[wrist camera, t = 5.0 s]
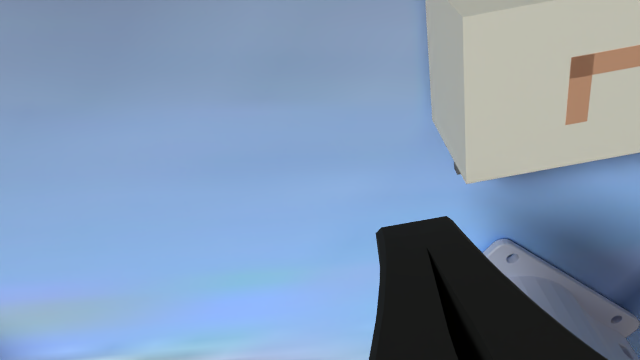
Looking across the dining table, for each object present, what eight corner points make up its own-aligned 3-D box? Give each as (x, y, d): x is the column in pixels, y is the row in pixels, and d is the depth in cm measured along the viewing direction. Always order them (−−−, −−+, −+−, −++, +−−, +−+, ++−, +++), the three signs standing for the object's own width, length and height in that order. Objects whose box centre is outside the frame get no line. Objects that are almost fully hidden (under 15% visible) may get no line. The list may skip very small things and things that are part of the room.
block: (423, -26, 18) (688, -76, 17) (432, 119, 20) (660, 77, 20) (462, 17, 14) (790, -44, 14) (466, 184, 17) (740, 134, 17)
